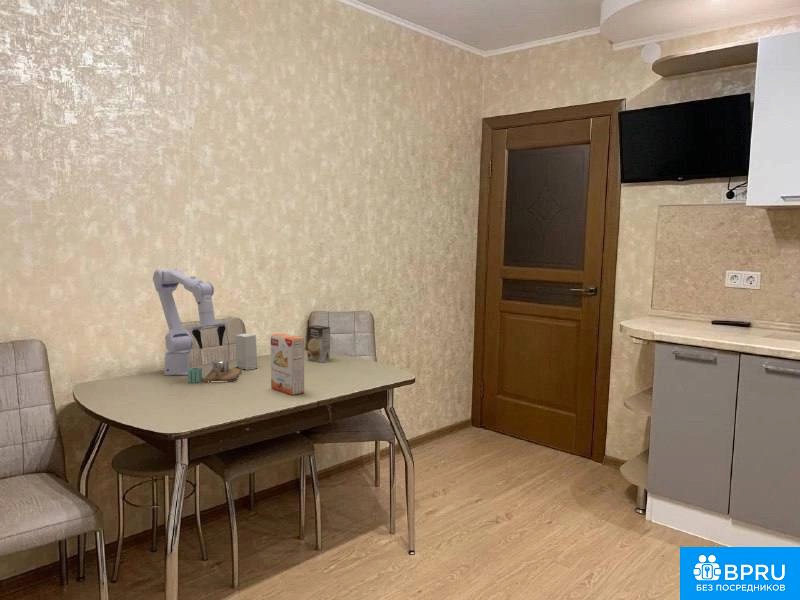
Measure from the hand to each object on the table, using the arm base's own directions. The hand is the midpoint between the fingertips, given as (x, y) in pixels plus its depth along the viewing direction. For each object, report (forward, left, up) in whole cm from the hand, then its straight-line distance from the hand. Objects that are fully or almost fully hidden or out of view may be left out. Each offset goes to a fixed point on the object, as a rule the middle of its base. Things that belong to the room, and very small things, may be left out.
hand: (211, 347), depth 247 cm
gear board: (+4, +7, -14) cm, 16 cm away
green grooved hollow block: (-6, 0, -14) cm, 15 cm away
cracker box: (+31, -17, -14) cm, 38 cm away
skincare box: (+11, +24, -14) cm, 30 cm away
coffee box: (+42, +39, -14) cm, 59 cm away
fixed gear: (+2, +12, -12) cm, 17 cm away
